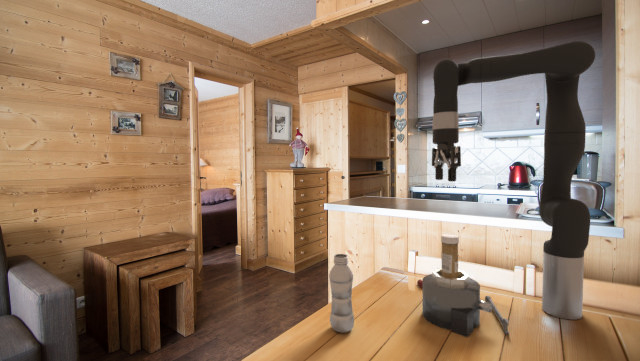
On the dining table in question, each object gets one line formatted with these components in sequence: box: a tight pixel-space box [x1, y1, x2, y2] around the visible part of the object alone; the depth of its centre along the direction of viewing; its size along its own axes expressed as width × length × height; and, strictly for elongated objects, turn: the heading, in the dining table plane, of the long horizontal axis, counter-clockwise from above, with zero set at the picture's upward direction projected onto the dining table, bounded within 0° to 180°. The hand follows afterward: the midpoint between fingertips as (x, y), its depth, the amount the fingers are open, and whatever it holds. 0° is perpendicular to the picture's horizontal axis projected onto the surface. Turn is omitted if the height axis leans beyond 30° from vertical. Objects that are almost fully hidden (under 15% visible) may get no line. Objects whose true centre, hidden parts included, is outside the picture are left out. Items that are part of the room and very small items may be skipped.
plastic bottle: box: [328, 253, 355, 333], centre depth 85 cm, size 6×7×20 cm
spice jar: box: [440, 233, 460, 278], centre depth 90 cm, size 5×5×14 cm
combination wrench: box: [484, 295, 510, 335], centre depth 90 cm, size 4×1×20 cm
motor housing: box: [422, 267, 493, 338], centre depth 89 cm, size 15×18×12 cm
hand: (445, 180), depth 100 cm, fingers open, 8 cm apart
